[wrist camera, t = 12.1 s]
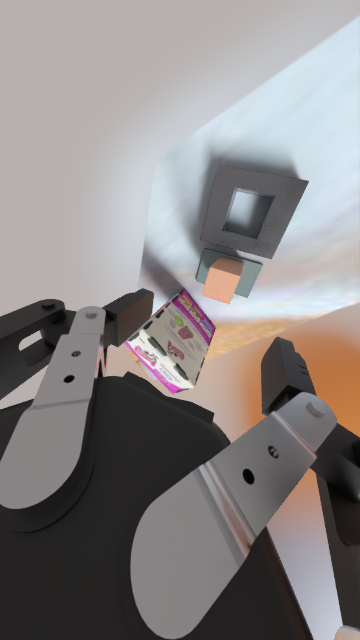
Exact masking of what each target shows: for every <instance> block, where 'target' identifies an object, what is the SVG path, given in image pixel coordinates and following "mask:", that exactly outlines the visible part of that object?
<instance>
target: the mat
mask: <svg viewBox="0 0 360 640" xmlns="http://www.w3.org/2000/svg"><path fill="white" fill-rule="evenodd" d="M221 256H222V257H226V258H229V259H233V260H236V261H240V262H243V263H244V265H243V269H242V273H241V277H240V279H239V282H238V284H237V287H236V289H235V292H234V294H237V295H240V296H244V297H247V298H248V296H249V293H250V291H251V289H252V287H253V285H254V283H255V280H256V278H257V276H258V274H259V272H260V270H261V267H262V264H259V263H255V262H252V261H248V260H245V259H241V258H238V257H234V256H231V255H227V254H224V253H220V252H216V251H213V250H209V249H206V248H204V252H203V256H202V260H201V264H200V267H199V271H198V275H197V279H196V281H198V282H201V283H204V284H205V282H206V279H207V276H208V272H209V269H210V267H211V266H212V265H213V264H214V263H215V262H216V261H217V260H218V259H219V258H220V257H221Z"/></svg>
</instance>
